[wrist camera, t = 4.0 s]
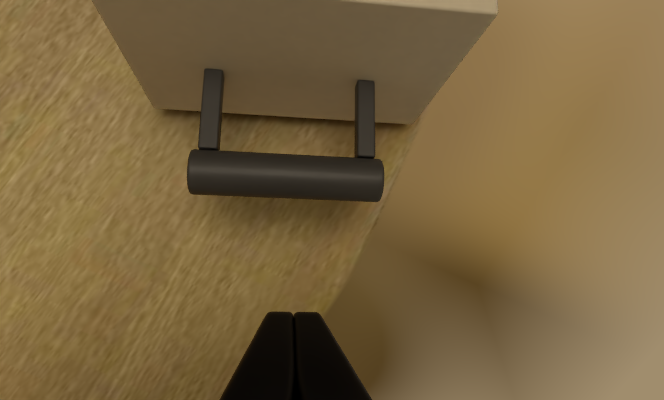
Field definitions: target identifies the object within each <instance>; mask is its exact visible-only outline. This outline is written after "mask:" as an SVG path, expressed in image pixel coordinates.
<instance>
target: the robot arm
mask: <svg viewBox="0 0 664 400" xmlns="http://www.w3.org/2000/svg"><path fill="white" fill-rule="evenodd" d="M220 400H372V399H371V397H370V396H369V394H368V393H367V391H366V389H365V387H364V386H363V384H362V383H361V381H360V379H359V378H358V376H357V374H356V373H355V371H354V369H353V368H352V366H351V364H350V363H349V361H348V359H347V358H346V356H345V354H344V353H343V351H342V350H341V348H340V346H339V345H338V343H337V341H336V340H335V338H334V336H333V335H332V333H331V331H330V330H329V328H328V326H327V325H326V323H325V322H324V320H323V318H322V317H321V315H320V314H319V313H317V312H296V313H295V314H294V316H293V314H292V313H291V312H269V313H267V315H266V316H265V318H264V319H263V321H262V323H261V325H260V327H259V329H258V330H257V332H256V334H255V336H254V338H253V339H252V341H251V343H250V345H249V347H248V349H247V350H246V352H245V354H244V356H243V358H242V359H241V361H240V363H239V365H238V367H237V369H236V370H235V372H234V374H233V376H232V378H231V379H230V381H229V383H228V385H227V387H226V389H225V390H224V392H223V394H222V396H221V398H220Z"/></svg>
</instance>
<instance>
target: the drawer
mask: <svg viewBox="0 0 664 400" xmlns="http://www.w3.org/2000/svg"><path fill="white" fill-rule="evenodd" d="M92 2H93V3H94V5H95V7H96V9H97V10H98V12H99V14H100V16H101V17H102V19H103V21H104V22H105V24H106V26H107V28H108V29H109V31H110V33H111V35H112V36H113V38H114V40H115V41H116V43H117V45H118V47H119V48H120V50H121V52H122V54H123V55H124V57H125V59H126V60H127V62H128V64H129V66H130V67H131V69H132V71H133V72H134V74H135V76H136V78H137V79H138V81H139V83H140V85H141V86H142V88H143V90H144V91H145V93H146V95H147V97H148V98H149V100H150V102H151V104H152V105H153V107H154V108H156V109H171V110H188V111H201V116H200V128H199V141H198V148H199V150H197V149H194V150H191V152H190V154H189V158H188V166H187V184H188V189H189V192H190V193H191V194H196V195H220V196H244V197H268V198H292V199H316V200H340V201H364V202H378V201H380V199H381V196H382V193H383V187H384V167H383V163H382V161H381V160H380V159H374V157H375V122H382V123H398V124H413V123H414V122H415V120H416V119H417V118H418V117H419V115H420V114H421V113H422V111H423V110H424V109H425V107H426V106H427V105H428V104H429V102H430V101H431V100H432V98H433V97H434V96H435V95H436V93H437V92H438V91H439V89H440V88H441V87H442V85H443V84H444V83H445V82H446V80H447V79H448V78H449V77H450V75H451V74H452V73H453V71H454V70H455V69H456V68H457V66H458V65H459V63H460V62H461V61H462V60H463V58H464V57H465V56H466V55H467V53H468V52H469V51H470V49H471V48H472V47H473V45H474V44H475V43H476V42H477V40H478V39H479V38H480V37H481V35H482V34H483V33H484V31H485V30H486V29H487V27H488V26H489V25H490V24H491V22H492V21H493V20H494V19H495V17H496V16H497V14H498V2H497V0H92ZM222 113H236V114H252V115H269V116H285V117H301V118H317V119H333V120H349V121H355V158H349V157H330V156H311V155H292V154H273V153H254V152H235V151H219V150H220V136H221V121H222Z"/></svg>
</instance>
